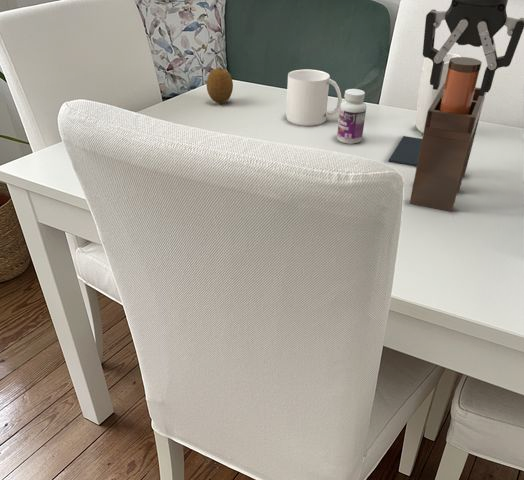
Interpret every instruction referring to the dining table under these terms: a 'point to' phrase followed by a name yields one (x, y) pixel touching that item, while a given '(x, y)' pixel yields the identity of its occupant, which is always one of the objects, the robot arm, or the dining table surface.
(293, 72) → the mug
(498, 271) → the dining table surface
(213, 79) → the fruit
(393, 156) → the mat
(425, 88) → the cup
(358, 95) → the pill bottle
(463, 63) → the spice jar
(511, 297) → the dining table surface
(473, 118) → the rack
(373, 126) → the dining table surface
